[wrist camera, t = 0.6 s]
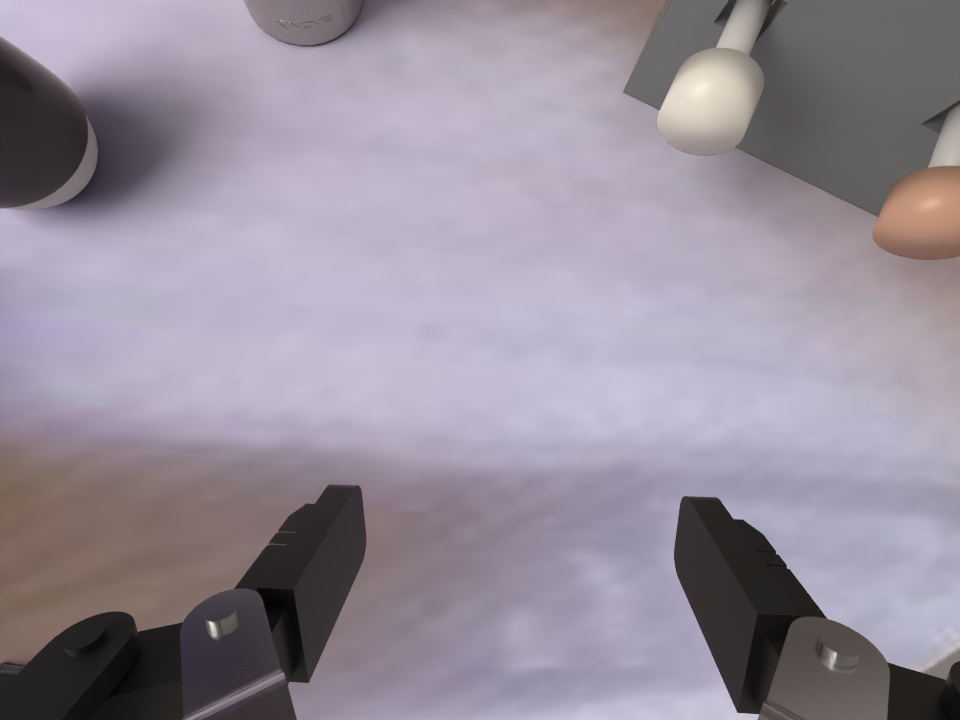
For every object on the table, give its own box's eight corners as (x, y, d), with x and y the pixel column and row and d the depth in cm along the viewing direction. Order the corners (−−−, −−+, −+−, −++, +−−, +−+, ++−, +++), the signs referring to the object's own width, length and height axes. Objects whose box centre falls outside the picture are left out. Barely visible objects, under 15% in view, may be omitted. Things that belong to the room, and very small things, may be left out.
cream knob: (713, 166, 30) (765, 118, 25) (644, 133, 30) (682, 77, 25) (769, 37, 32) (828, -33, 27) (702, 4, 32) (749, -72, 27)
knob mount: (882, 218, 39) (1248, 53, 21) (623, 92, 39) (772, -184, 21) (913, 134, 40) (1284, -91, 22) (661, 10, 40) (834, -317, 22)
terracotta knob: (921, 268, 31) (1013, 239, 26) (852, 234, 30) (931, 199, 26) (967, 135, 32) (1062, 83, 27) (901, 102, 32) (985, 44, 27)
